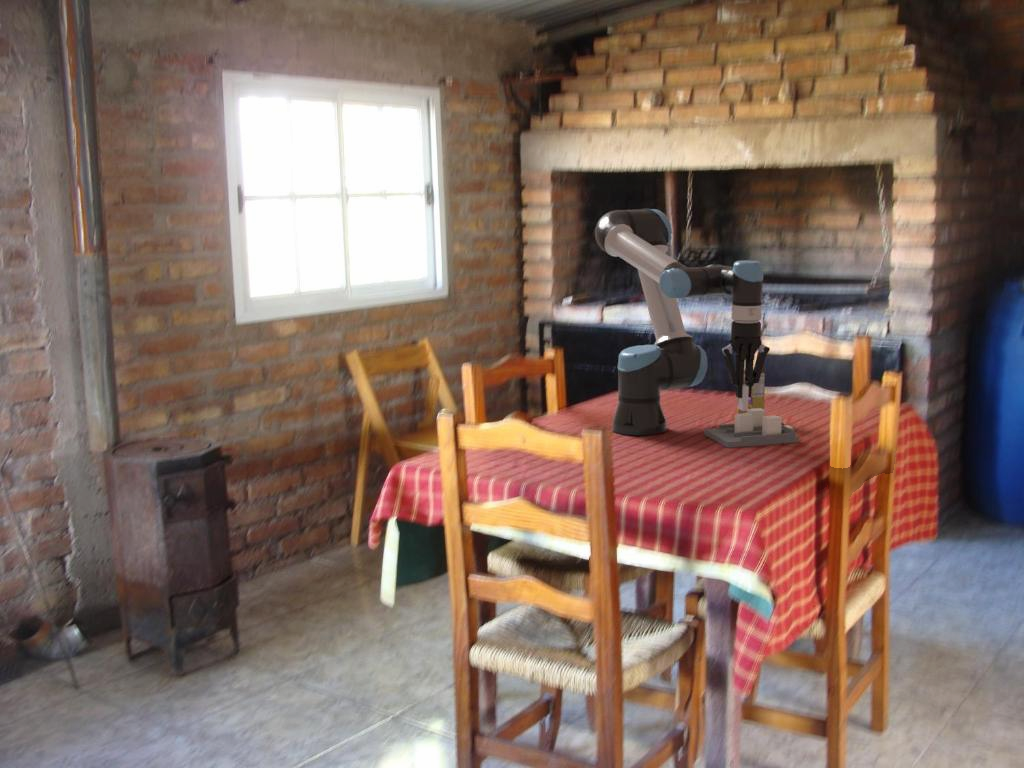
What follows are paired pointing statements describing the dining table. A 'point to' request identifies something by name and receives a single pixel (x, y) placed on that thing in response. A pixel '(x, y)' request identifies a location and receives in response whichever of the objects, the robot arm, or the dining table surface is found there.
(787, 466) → the dining table surface
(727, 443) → the switch board
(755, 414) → the tab
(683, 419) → the dining table surface
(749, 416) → the tab
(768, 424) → the tab
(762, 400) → the candy box
